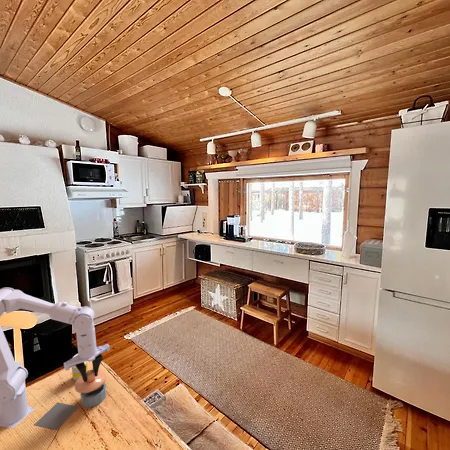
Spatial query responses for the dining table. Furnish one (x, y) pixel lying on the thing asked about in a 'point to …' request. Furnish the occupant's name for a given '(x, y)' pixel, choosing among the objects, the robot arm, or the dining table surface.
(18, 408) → the robot arm
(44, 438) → the dining table surface
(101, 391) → the cup
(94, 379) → the lid
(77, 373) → the supplement bottle
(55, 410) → the mat
